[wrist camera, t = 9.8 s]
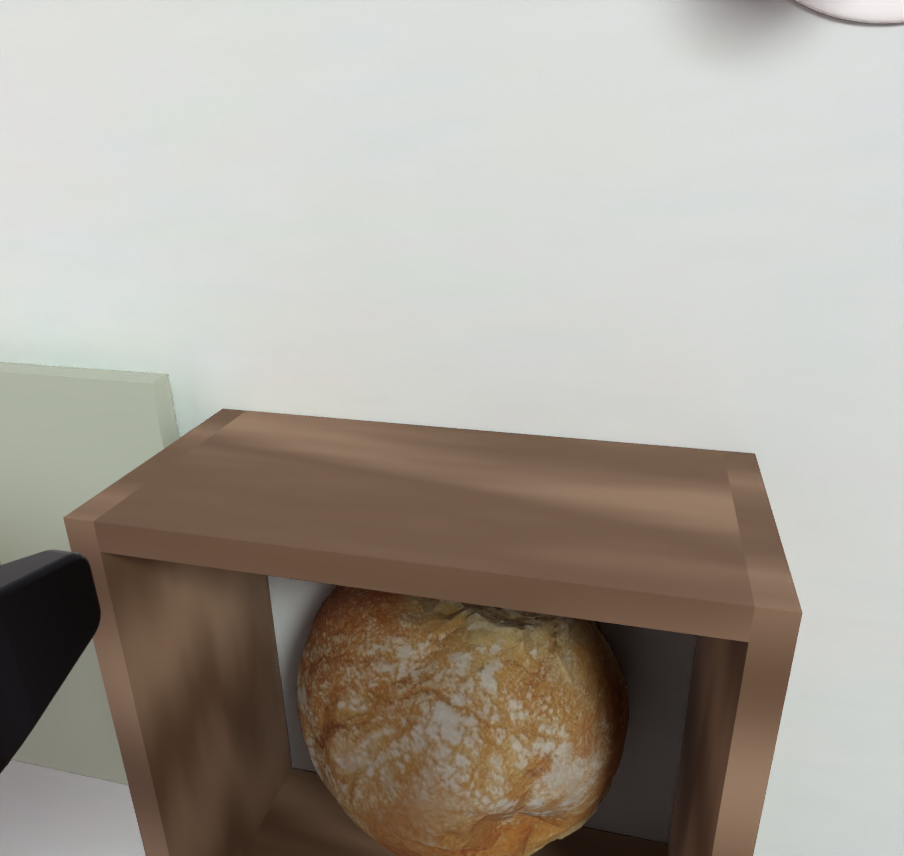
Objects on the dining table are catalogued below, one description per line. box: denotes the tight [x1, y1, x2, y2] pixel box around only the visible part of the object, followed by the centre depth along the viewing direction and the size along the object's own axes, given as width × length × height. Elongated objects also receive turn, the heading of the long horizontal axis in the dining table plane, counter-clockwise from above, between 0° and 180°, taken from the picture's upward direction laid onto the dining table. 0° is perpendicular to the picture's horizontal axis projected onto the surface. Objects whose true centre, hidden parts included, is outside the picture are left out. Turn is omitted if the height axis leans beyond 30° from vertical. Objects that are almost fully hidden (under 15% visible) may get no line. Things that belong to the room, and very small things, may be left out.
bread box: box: [63, 409, 802, 856], centre depth 21 cm, size 16×16×7 cm
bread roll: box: [296, 585, 629, 856], centre depth 23 cm, size 10×10×8 cm
